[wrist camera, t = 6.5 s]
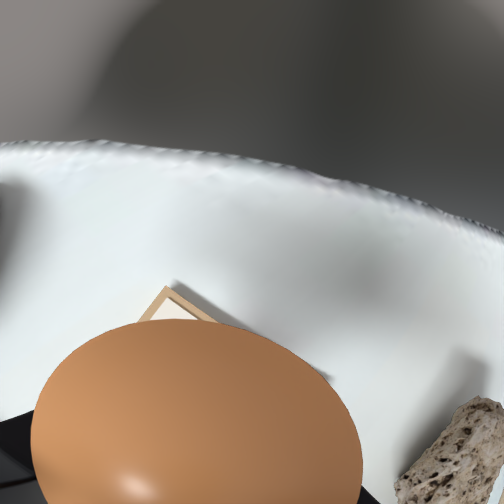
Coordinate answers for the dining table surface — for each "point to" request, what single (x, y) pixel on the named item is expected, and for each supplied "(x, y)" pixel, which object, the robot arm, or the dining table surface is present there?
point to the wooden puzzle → (502, 498)
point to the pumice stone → (459, 459)
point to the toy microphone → (192, 422)
